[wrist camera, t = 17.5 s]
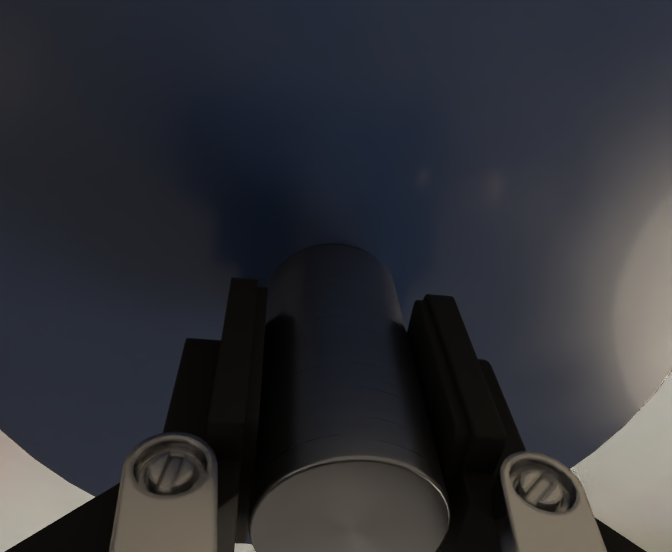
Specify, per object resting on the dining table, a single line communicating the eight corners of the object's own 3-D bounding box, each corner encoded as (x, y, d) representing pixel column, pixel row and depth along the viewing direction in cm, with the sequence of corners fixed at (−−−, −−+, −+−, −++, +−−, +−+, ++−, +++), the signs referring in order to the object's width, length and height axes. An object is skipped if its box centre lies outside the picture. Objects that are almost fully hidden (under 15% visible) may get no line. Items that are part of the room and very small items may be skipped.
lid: (-2, 508, 19) (-141, 800, 13) (-208, -278, 9) (-1126, -586, 3) (570, 521, 21) (682, 780, 15) (877, -119, 11) (1547, -130, 5)
